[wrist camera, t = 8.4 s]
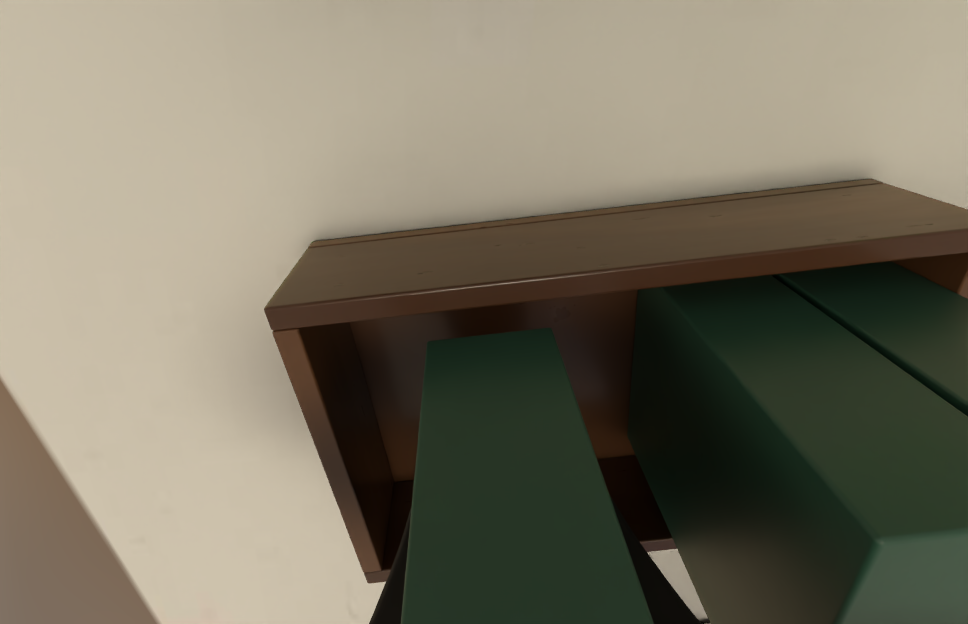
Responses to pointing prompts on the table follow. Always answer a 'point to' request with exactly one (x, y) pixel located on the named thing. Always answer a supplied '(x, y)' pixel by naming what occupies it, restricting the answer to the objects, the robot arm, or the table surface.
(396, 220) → the table surface
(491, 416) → the green book
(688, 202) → the book rack
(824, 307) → the block
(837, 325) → the rack book
